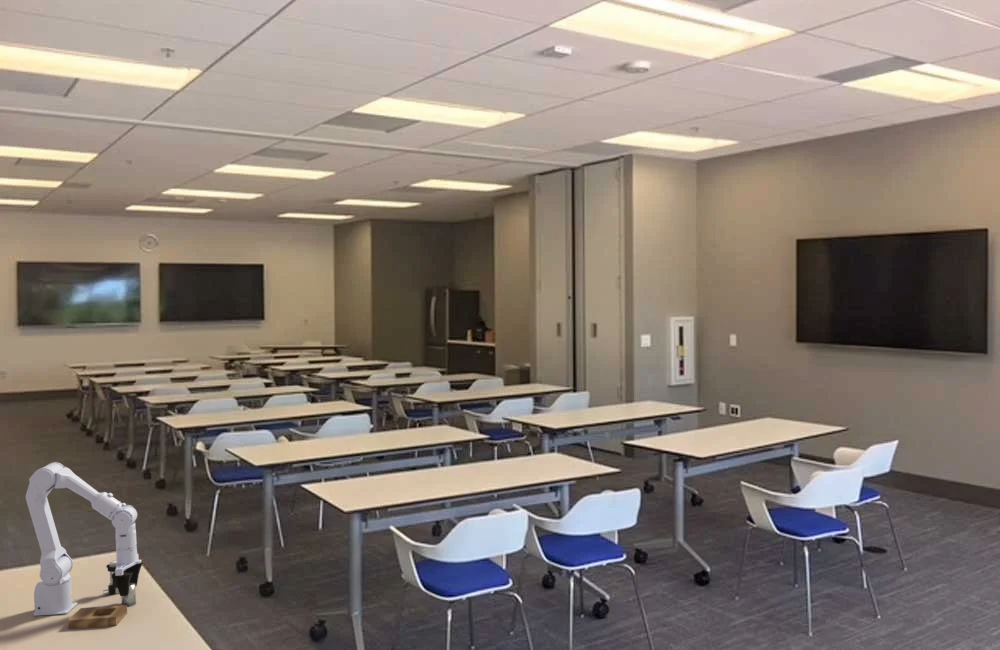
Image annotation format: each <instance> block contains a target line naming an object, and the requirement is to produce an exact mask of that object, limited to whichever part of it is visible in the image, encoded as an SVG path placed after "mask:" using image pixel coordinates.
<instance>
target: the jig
mask: <svg viewBox="0 0 1000 650" xmlns="http://www.w3.org/2000/svg"><path fill="white" fill-rule="evenodd" d="M127 614H128V607H127V605H122V604H121V605H109V606H108V605H107V606H96V607H95V606H94V607H80V608H79V609H78V610H77V611H76V612H75V613H74V614H73V615H72V616H71V617H70V618H69V619H67V627H68V628H67V629H68V630H70V629H74V630H75V629H86V628H88V629H89V628H100V627H101V628H102V627H114V626H115V627H116V626H117V625H118V624H119V623H120V622H121V621H122V620H123V619H124V618H125V616H127Z"/></svg>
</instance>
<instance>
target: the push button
mask: <svg viewBox="0 0 1000 650" xmlns="http://www.w3.org/2000/svg"><path fill="white" fill-rule="evenodd" d="M116 562H117V559H114V560H110V561H109V563H108V564H107V565H105V566H106V569H107V572H109V585H107V589H105V590H104V589H103V590H102V591H103V592H104V593H102V594H103V595H106V594H108V595H110V596H111V595H116V594H119V591H118V588H117V585H116V583H115V581H114V580H113V579H112V574H113V573H115V569H116Z"/></svg>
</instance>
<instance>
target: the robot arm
mask: <svg viewBox="0 0 1000 650" xmlns="http://www.w3.org/2000/svg"><path fill="white" fill-rule="evenodd" d="M28 481H29V483H28V487H27V490H26V493H25V501H26V505H27V508H28V511H29V515H30V518H31V521H32V526H33V527H34V532H35V535H36V538H37V541H38V546H39V549H40V552H41V553H40V554H41V556H40V560H39V565H40V572H39V578H40V580H41V581H39V582H37V583H36V585H35V587H34V592H33V600H34V603H33V604H34V605H33V606H34V613H33V616H34V617H35V616H37V617H38V616H48V615H49V616H51V615H66V614H68V613H69V612H70V611H71V610H73V609H74V608H75V607H76V606H77V605H78V602H73V600H72V598H73V597H72V596H73V595H72V579H71V578H72V576H71V575H70V572H71V571H72V569H73V566H74V561H73V559H72V558H71V557H70V555H69V554H68V553H67V550H66V549H65V548H64V547H63V546H62V545H61V542H60V538H59V534H58V530H57V528H56V524H55V521H54V516H53V514H52V510H51V506H50V503H49V499H48V495H49V494H50V493H51V491H52V490H53V489H68V490H70V491H72V492H73V493H75V494H77V495H79V496H81V497H83V498H84V499H85V500H87V501H89V502H90V504H91V508H92V509H93V510H95V511H97V513H99V514H100V515H102V516H104V517H105V518H107V519H108V520H110V521H111V525H112V526H113V527H114V528H115V529H114V531H115V554H116V560H117V562H116V569H115V573H112V579H113V580H114V581H115V583H116V585H117V588H118V591H119V593H118V594H119V596H120V597H121V596H128V593H129V584H130V583H135V588H136V587H137V586H138V582H139V575H140V571H141V569H142V566H143V564H144V563H143V561H142V559H139V553H138V549H137V548H138V546H137V544H138V543H137V530H136V520H137V518H138V511H137V509H136V508H135V507H134V506H133V505H130V504H127V503H125V502H123V503H122V501H120V500H118V499H116V498H115V497H114V494H113V493H112V492H106V491H103V492H99V491H98V490H97V489H95V488H94V487H92V486H91V485H90V484H88V483H87V482H86V481H85V480H83V479H82V478H81V477H80V476H78V475H77V474H75V473H74V472H73V471H72V470H71V469H70V468H69V467H67V466H65V465H63V464H62V463H60V462H58V461H54V462H50V463H48V464H47V465H45V466H44V467H41V468H39V469H37V470H35V471H34V472H33V473H32V475H31V476H30V477H29V479H28Z"/></svg>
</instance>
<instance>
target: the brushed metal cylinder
mask: <svg viewBox="0 0 1000 650" xmlns="http://www.w3.org/2000/svg"><path fill="white" fill-rule="evenodd" d="M136 594H137V592H136V587H135V583H130V584H129V593H128V596H120V599H121V601H120V602H121V606H122V605H127V608H129V607H133V606H135V605H136V604H137V595H136Z"/></svg>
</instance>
